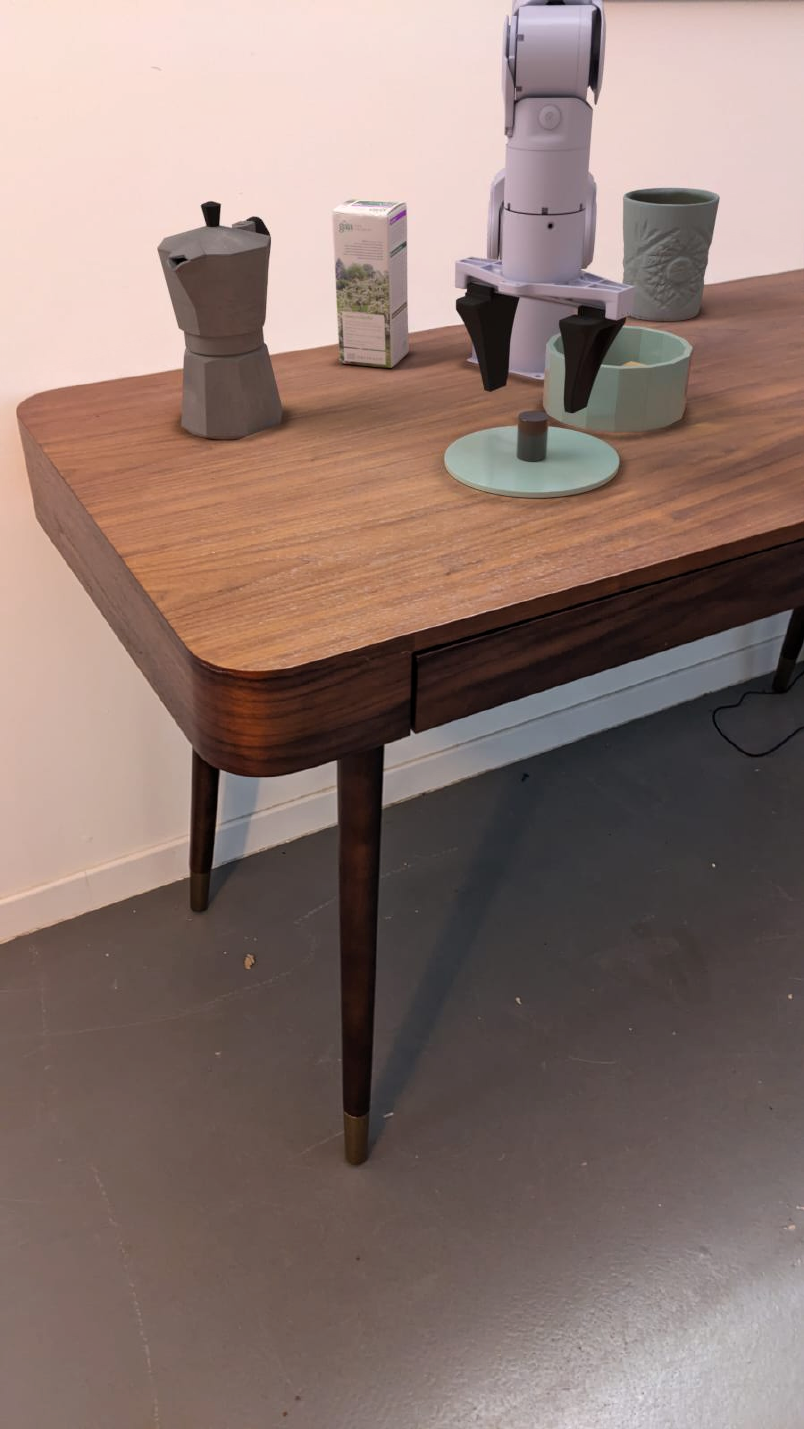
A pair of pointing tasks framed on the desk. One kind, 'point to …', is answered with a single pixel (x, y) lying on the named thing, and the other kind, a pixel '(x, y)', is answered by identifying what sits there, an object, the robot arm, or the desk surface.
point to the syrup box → (371, 281)
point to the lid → (531, 459)
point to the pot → (626, 382)
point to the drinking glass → (667, 250)
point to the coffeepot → (223, 325)
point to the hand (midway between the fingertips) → (534, 398)
